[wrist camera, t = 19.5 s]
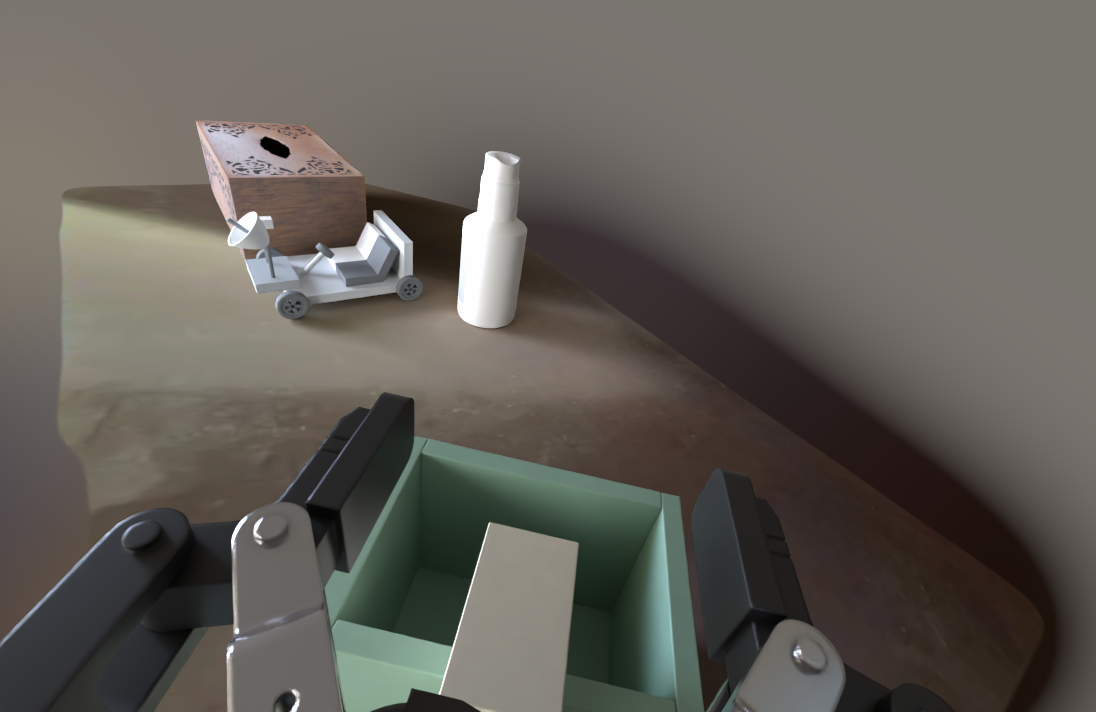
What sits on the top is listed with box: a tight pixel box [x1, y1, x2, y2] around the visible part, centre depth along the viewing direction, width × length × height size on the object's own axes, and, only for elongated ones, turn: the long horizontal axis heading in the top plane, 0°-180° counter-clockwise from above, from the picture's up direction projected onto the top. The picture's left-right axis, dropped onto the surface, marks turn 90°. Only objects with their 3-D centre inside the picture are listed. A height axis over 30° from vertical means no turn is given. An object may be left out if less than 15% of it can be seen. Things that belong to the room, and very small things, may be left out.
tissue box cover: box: [196, 120, 367, 262], centre depth 65 cm, size 26×14×10 cm, turn 37°
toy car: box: [226, 210, 423, 319], centre depth 52 cm, size 18×10×12 cm
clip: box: [439, 522, 579, 712], centre depth 16 cm, size 5×3×11 cm, turn 172°
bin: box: [325, 436, 704, 712], centre depth 22 cm, size 14×10×11 cm
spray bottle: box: [457, 151, 527, 328], centre depth 51 cm, size 7×7×18 cm
